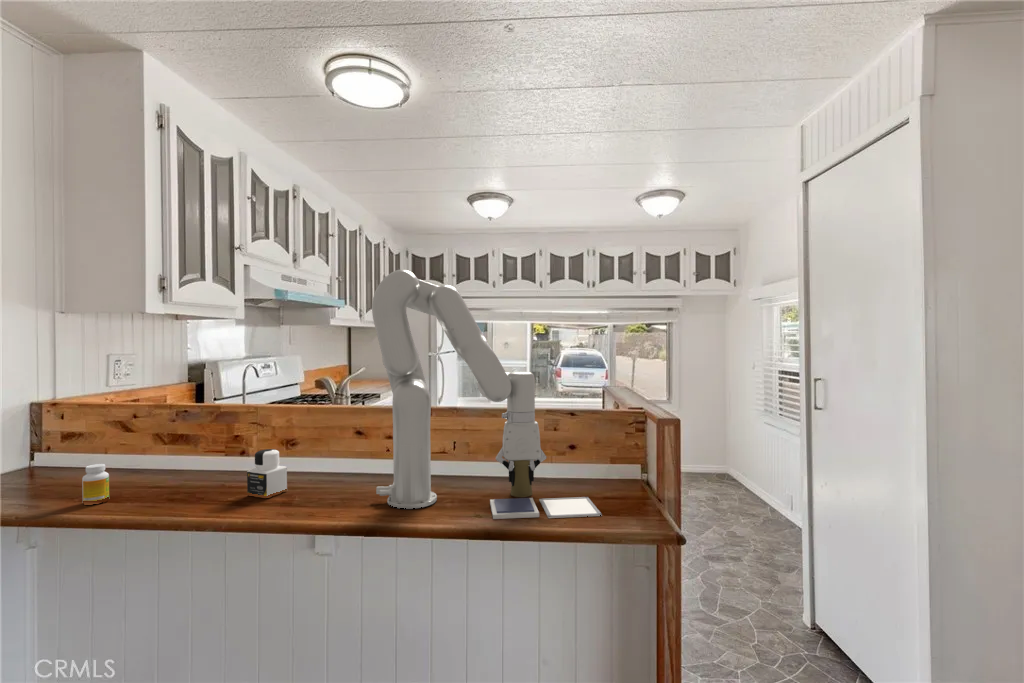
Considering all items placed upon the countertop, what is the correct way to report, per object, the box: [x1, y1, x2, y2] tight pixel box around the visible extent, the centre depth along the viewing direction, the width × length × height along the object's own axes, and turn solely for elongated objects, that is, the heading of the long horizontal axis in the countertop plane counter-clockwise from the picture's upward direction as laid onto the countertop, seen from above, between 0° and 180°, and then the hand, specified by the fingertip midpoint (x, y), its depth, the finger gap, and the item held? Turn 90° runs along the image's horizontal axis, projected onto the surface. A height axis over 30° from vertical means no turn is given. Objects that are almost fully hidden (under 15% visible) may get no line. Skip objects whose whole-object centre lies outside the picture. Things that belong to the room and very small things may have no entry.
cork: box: [510, 460, 533, 498], centre depth 138 cm, size 6×6×11 cm
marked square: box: [538, 496, 603, 519], centre depth 127 cm, size 13×13×1 cm
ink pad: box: [489, 497, 540, 520], centre depth 125 cm, size 11×11×1 cm
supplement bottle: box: [81, 463, 110, 502], centre depth 132 cm, size 5×5×10 cm
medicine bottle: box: [246, 448, 288, 496], centre depth 139 cm, size 7×7×12 cm
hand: (521, 483), depth 138 cm, fingers closed on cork, 4 cm apart
